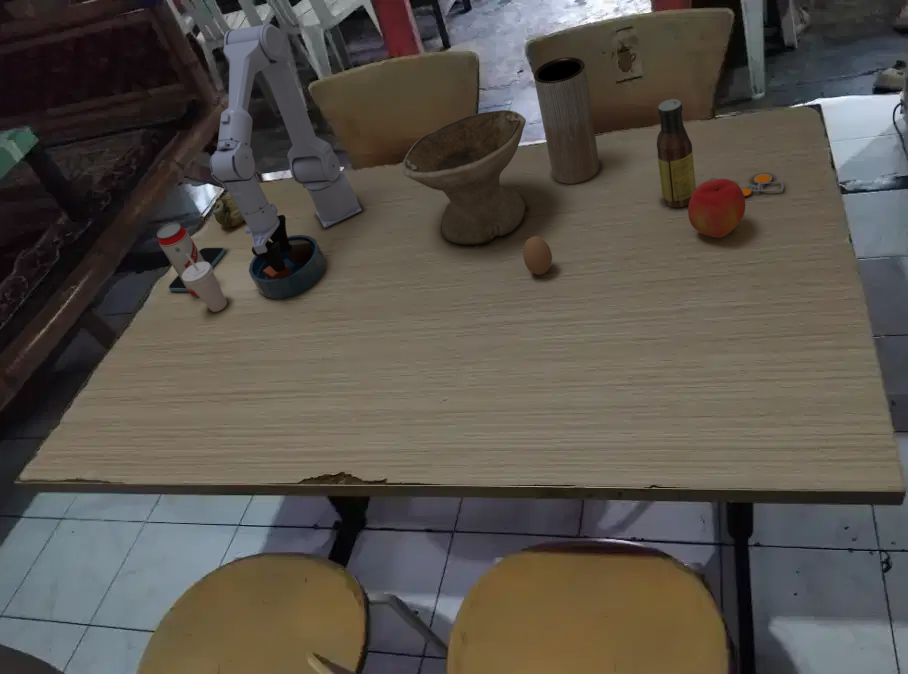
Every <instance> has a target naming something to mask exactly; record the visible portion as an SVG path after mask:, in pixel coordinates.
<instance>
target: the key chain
mask: <svg viewBox="0 0 908 674" xmlns="http://www.w3.org/2000/svg"><path fill="white" fill-rule="evenodd" d="M716 179H717V178H713V179H712V180H716ZM772 180H773V176H772V175H771V174H769V173H760V174H757V175H755V176H754V177H753V182H754V183H755V184H756V185H754V184H749V185H747V186H746V187H745V188H741V190H742V192H743V195H744V197H748V196H750V195H751V194H752V193H755V192H756V193H757V192H764V193H765V192H766V193H781V192H783V191H784V189H785V186H784V183H783V181H781V180H776V181H772ZM775 183H776V184H780V186H781V187H780V189H764V186H766V185H769V184H775Z"/></svg>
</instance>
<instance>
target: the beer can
mask: <svg viewBox="0 0 908 674" xmlns="http://www.w3.org/2000/svg"><path fill="white" fill-rule="evenodd" d="M156 236H157V241H158V245H159V247H160V248H161V249H162V251H163V253H164V254H165V256H166V258H167V259H168V261H169V262H170V264H171V266H172V268H173V269H174V271H175V272H176V274H177V276H178V275H179V277H180V278H181V280H182V282H183V283H184V281H183V279H182V274H183V272H184V271H185V270H186V269H187V268H188V267H190V266H191V265H192V263H191V262H190V260H189V259H188V257H187V256H186V254H187V253H188V254H189V255H190V257H191V258H192V260H193V261H194V263H198V262H205V261H204V259H203V258H202V256H201V254H200V252H199V249H198V247H197V245H196V244H195V242H194V241H193V239H192V237H191V235H190V234H189V232H188V231H187V229H186V228H185V227H183V226H181V224H180V223H179V222H169V223H167V224H164V225H163V226H161V227H160V228H159V229H158V230H157V232H156ZM184 285H185V286H186V288H187V290H188V291H187V292H188V293H189V294H190V295H193V296H197V297H199V296H198V295H197V294H196V293H195V292H194V291H193V290H192V288H191V287H190V286H189V285H187V284H185V283H184Z"/></svg>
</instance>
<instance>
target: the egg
mask: <svg viewBox="0 0 908 674" xmlns="http://www.w3.org/2000/svg"><path fill="white" fill-rule="evenodd" d="M522 256H523V257H522V258H523V261H524V264H525V266H526V268H527V270H529V271H530V272H531V273H533V274H535V275H543V274H545V273H547V272H548V271H549V270H550V268H551V265H552V262H553V254H552V251H551V248H550V246H549V244H548V243H547V242H546V241H545V239H543V238H542V237H540V236H538V235H537V236H531V237H529V238H528V239H527V240H526V241H525V243H524V247H523V252H522Z"/></svg>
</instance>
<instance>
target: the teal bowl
mask: <svg viewBox="0 0 908 674" xmlns="http://www.w3.org/2000/svg"><path fill="white" fill-rule="evenodd" d="M287 237H288V241H294V240H302V239H305V240H306V241H308V242H309V243H310V250H311V259H310V260H309V261H308V262H302V263H295V264H293V263H292V262H291V261H289V260H288V254H287V251H286V252H282V253H281V255H282V258H283V260H284V263H285V264H286V265H287V266H288V267H289V269H290V271H291V273H292V274H290V275H288V276H285V277H282V278H278V279H272V280H268V278H267V277H266V275H265V273H264V271H263V270H264V269H266V268H267V267H269V266H270V265H269V264H268V263H266V262H265V261H264V260H263V259H261V258H260V257H258V256H256V255H254V257H253V258H252V260H251V262H250V263H249V268H248V273H249V276H250V278H251V279H252V281H253V283H254V284H255V286H256V287H257V289H258V292H259V293H260V294H262V295H263V296H265V297H267V298H271V299H277V300H281V299H288V298H292V297H294V296H298V295H300V294H302V293H304V292H306V291H308V290H309V289H311V288H312V287H313V286H314V285H316V284H317V283H318V282H319V280H320V279H322V277H323V275H324V273H325V270H326V267H327V266H326V265H327V259H326V257H325V256H324V254H323V251H322V250H321V247H320V246H319V244H318V242H317V240H316V239H315V238H314V237H312V236H310V235H305V234H295V235H288V236H287Z"/></svg>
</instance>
